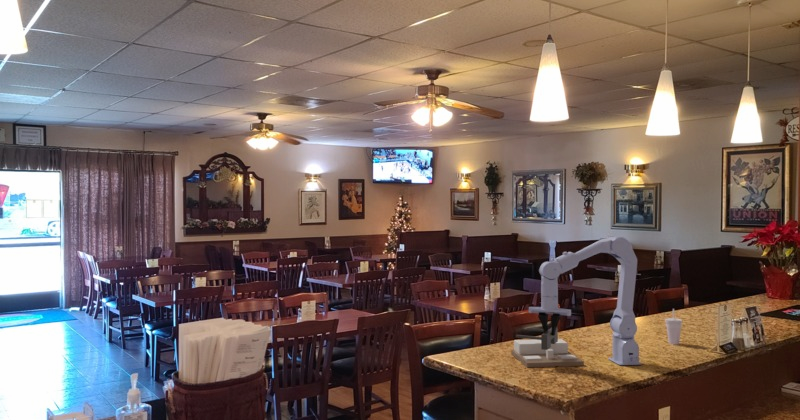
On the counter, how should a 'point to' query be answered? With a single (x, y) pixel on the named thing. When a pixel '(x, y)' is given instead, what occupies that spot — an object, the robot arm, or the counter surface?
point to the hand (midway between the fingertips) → (549, 334)
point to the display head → (544, 354)
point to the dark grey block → (543, 337)
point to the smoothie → (673, 329)
